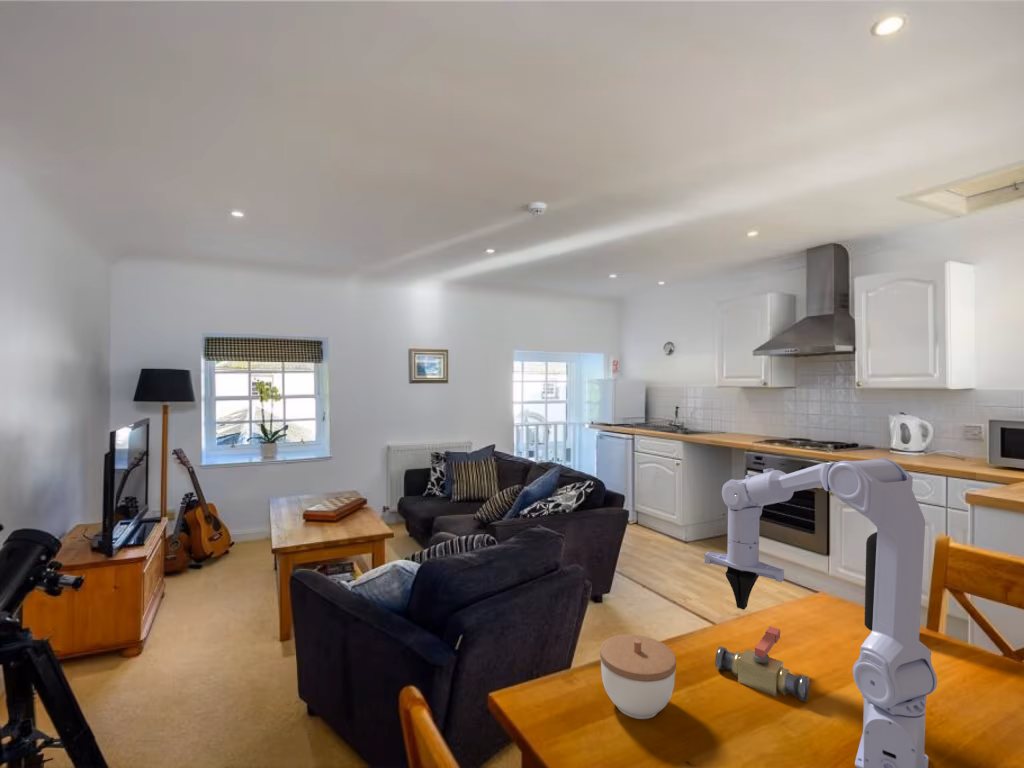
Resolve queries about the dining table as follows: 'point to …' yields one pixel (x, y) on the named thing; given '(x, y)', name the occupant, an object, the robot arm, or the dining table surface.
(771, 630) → the lever
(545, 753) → the dining table surface
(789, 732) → the dining table surface
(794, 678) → the pipe valve
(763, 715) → the dining table surface
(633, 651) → the lidded bowl
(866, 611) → the wine bottle
